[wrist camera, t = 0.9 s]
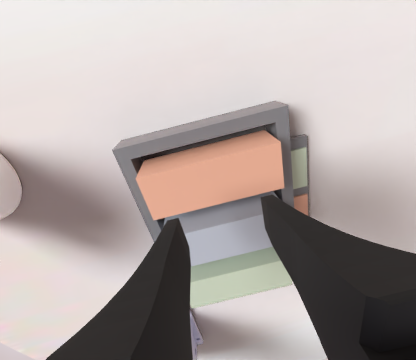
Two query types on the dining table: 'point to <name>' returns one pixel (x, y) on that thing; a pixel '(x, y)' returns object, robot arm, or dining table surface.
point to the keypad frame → (199, 131)
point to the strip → (300, 173)
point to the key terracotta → (211, 174)
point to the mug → (8, 188)
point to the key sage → (237, 277)
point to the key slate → (225, 229)
